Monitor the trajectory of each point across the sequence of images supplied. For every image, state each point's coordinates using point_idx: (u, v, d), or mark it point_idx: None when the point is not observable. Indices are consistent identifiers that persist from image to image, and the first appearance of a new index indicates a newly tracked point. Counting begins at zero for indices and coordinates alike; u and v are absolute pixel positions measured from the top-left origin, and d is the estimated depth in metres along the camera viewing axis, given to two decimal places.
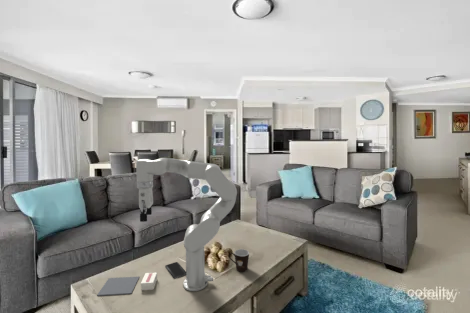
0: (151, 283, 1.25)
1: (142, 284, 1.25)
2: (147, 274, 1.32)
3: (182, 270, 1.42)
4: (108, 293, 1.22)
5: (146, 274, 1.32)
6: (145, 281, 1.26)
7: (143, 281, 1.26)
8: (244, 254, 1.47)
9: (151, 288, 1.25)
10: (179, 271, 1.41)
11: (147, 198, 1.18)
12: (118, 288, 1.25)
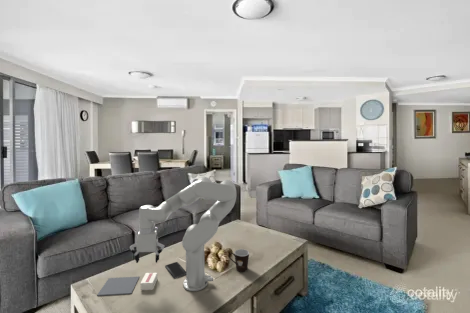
0: (151, 283, 1.25)
1: (142, 284, 1.25)
2: (147, 274, 1.32)
3: (182, 270, 1.42)
4: (108, 293, 1.22)
5: (146, 274, 1.32)
6: (145, 281, 1.26)
7: (143, 281, 1.26)
8: (244, 254, 1.47)
9: (151, 288, 1.25)
10: (179, 271, 1.41)
11: (157, 238, 1.30)
12: (118, 288, 1.25)
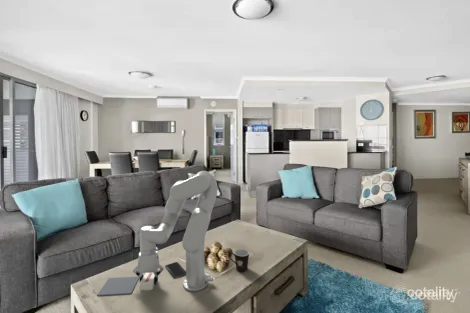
0: (150, 283, 1.25)
1: (141, 284, 1.25)
2: (147, 274, 1.32)
3: (182, 270, 1.42)
4: (108, 293, 1.22)
5: (146, 274, 1.32)
6: (144, 281, 1.26)
7: (142, 281, 1.26)
8: (244, 254, 1.47)
9: (150, 288, 1.25)
10: (179, 271, 1.41)
11: (158, 258, 1.31)
12: (118, 288, 1.25)
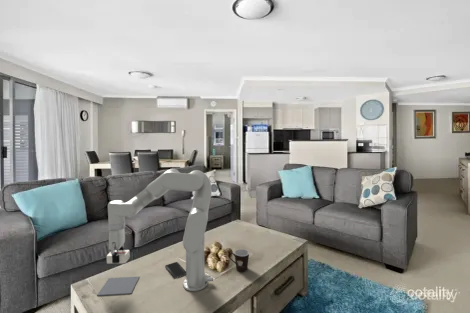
0: (128, 251, 1.29)
1: (125, 256, 1.24)
2: (110, 254, 1.25)
3: (182, 270, 1.42)
4: (108, 293, 1.22)
5: (110, 254, 1.24)
6: (124, 253, 1.25)
7: (123, 254, 1.24)
8: (244, 254, 1.47)
9: (129, 256, 1.29)
10: (179, 271, 1.41)
11: None
12: (118, 288, 1.25)
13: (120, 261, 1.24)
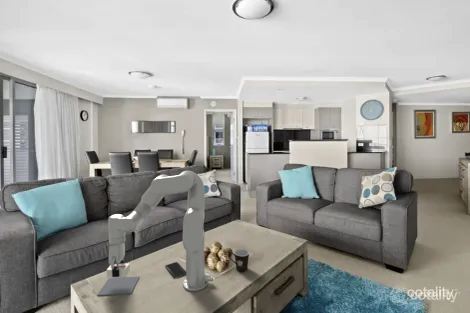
0: (128, 265, 1.30)
1: (125, 270, 1.25)
2: (110, 268, 1.25)
3: (182, 270, 1.42)
4: (108, 293, 1.22)
5: (110, 268, 1.25)
6: (123, 267, 1.26)
7: (122, 268, 1.25)
8: (244, 254, 1.47)
9: (129, 269, 1.30)
10: (179, 271, 1.41)
11: None
12: (118, 288, 1.25)
13: (120, 275, 1.24)
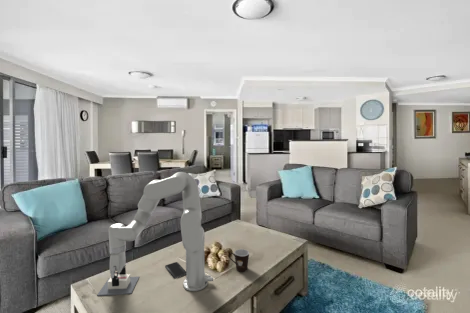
0: (129, 275, 1.30)
1: (126, 281, 1.26)
2: (111, 280, 1.26)
3: (182, 270, 1.42)
4: (108, 293, 1.22)
5: (111, 280, 1.25)
6: (125, 278, 1.27)
7: (124, 279, 1.26)
8: (244, 254, 1.47)
9: (129, 280, 1.31)
10: (179, 271, 1.41)
11: None
12: None
13: (121, 286, 1.25)
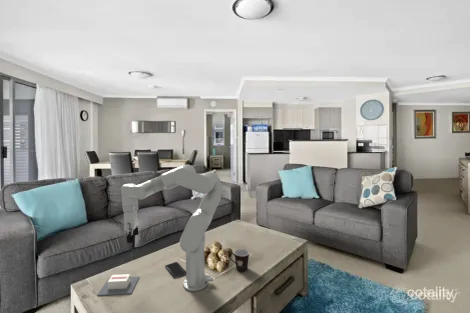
0: (129, 275, 1.30)
1: (126, 281, 1.26)
2: (111, 280, 1.26)
3: (182, 270, 1.42)
4: (108, 293, 1.22)
5: (111, 280, 1.25)
6: (125, 278, 1.27)
7: (124, 279, 1.26)
8: (244, 254, 1.47)
9: (129, 280, 1.31)
10: (179, 271, 1.41)
11: None
12: None
13: (121, 286, 1.25)
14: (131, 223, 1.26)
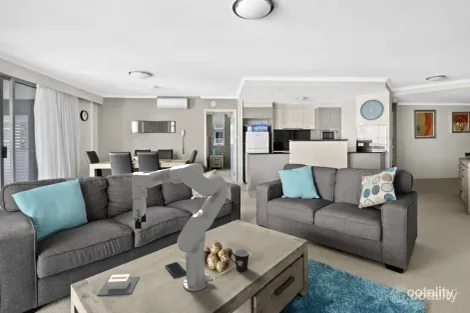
0: (129, 275, 1.30)
1: (126, 281, 1.26)
2: (111, 280, 1.26)
3: (182, 270, 1.42)
4: (108, 293, 1.22)
5: (111, 280, 1.25)
6: (125, 278, 1.27)
7: (124, 279, 1.26)
8: (244, 254, 1.47)
9: (129, 280, 1.31)
10: (179, 271, 1.41)
11: None
12: None
13: (121, 286, 1.25)
14: (140, 210, 1.30)
